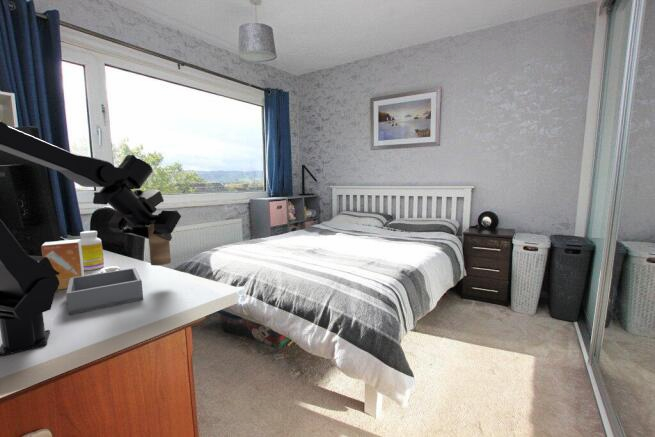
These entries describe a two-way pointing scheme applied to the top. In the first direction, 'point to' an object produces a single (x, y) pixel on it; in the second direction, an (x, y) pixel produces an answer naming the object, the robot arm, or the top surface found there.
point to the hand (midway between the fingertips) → (162, 239)
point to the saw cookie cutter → (109, 269)
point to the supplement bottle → (91, 250)
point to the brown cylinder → (158, 248)
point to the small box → (65, 259)
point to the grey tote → (103, 290)
